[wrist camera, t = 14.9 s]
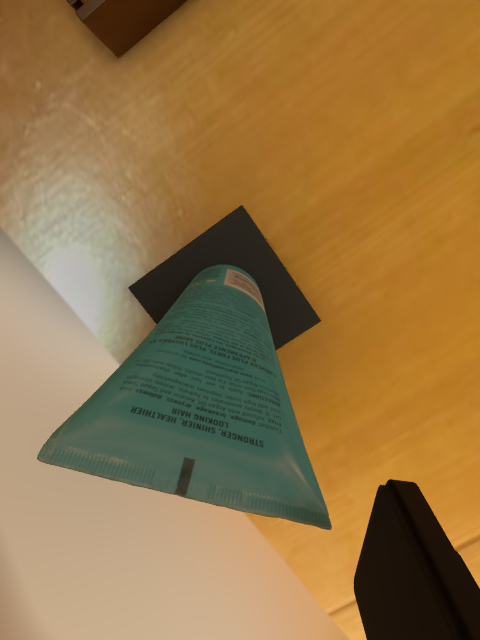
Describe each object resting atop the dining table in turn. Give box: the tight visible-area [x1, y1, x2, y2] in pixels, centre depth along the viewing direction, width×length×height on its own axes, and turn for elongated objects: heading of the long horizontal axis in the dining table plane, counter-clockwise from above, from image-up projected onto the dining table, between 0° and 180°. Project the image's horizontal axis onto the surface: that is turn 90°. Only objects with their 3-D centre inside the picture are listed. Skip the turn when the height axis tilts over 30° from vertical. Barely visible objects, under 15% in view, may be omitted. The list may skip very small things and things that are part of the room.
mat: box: [129, 206, 321, 350], centre depth 30 cm, size 9×9×1 cm
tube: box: [37, 265, 332, 530], centre depth 20 cm, size 7×5×19 cm, turn 80°
